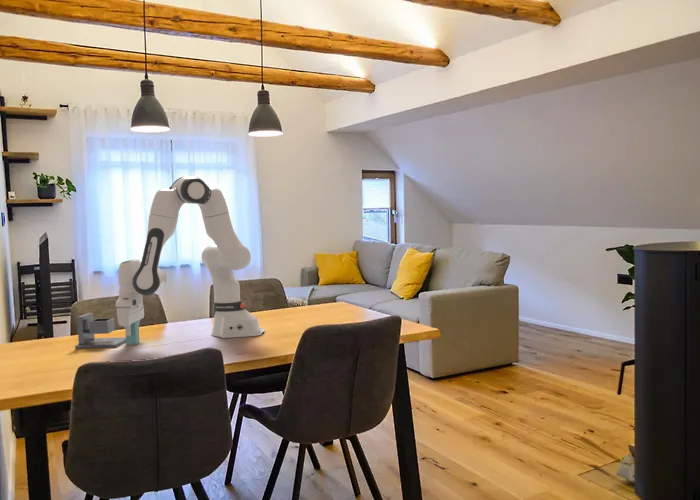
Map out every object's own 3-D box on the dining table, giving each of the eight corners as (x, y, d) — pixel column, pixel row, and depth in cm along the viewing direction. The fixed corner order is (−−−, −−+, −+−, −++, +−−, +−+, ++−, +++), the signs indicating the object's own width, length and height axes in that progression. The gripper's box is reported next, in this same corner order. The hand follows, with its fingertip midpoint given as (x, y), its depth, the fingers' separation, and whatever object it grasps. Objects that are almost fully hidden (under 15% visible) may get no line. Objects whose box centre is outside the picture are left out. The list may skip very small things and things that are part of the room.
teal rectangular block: (139, 342, 231) (138, 320, 231) (136, 344, 227) (135, 322, 227) (129, 342, 231) (128, 320, 231) (126, 344, 227) (125, 322, 227)
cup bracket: (129, 340, 236) (127, 311, 235) (116, 347, 222) (115, 316, 221) (90, 341, 236) (89, 312, 235) (75, 348, 222) (73, 317, 221)
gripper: (132, 296, 239) (133, 328, 239) (113, 303, 218) (115, 338, 219) (147, 295, 239) (148, 328, 239) (130, 303, 218) (131, 338, 219)
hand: (132, 333), depth 229 cm, fingers open, 6 cm apart
